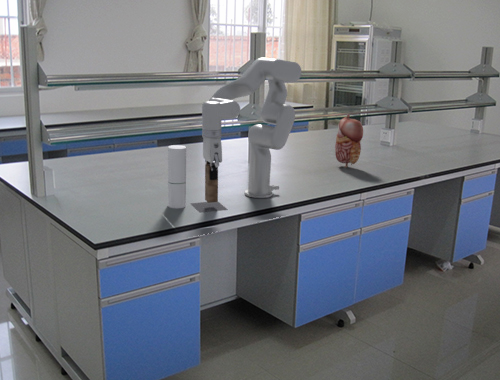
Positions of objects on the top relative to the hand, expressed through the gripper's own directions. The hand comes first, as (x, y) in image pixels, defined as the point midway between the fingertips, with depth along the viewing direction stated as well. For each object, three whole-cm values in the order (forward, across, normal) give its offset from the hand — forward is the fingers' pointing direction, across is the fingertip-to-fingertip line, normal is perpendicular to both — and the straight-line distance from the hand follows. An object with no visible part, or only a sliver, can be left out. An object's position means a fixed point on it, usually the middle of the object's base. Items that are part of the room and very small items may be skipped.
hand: (211, 177), depth 210 cm
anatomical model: (+16, +44, -97) cm, 108 cm away
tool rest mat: (+13, +1, +1) cm, 13 cm away
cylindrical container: (+13, +6, +13) cm, 19 cm away
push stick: (+10, 0, 0) cm, 10 cm away
